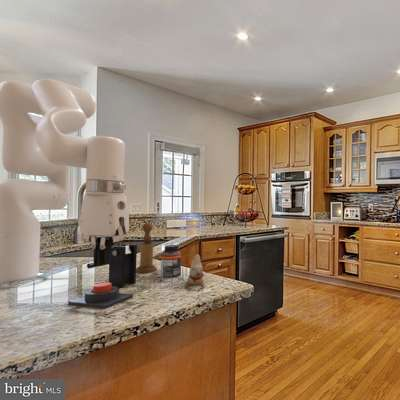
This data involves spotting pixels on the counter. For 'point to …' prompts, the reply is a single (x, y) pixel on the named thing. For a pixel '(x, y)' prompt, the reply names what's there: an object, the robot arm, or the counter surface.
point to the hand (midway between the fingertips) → (102, 264)
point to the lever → (97, 266)
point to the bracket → (122, 266)
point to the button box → (101, 299)
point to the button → (102, 287)
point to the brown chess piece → (146, 252)
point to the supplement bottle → (171, 262)
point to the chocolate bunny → (196, 272)
